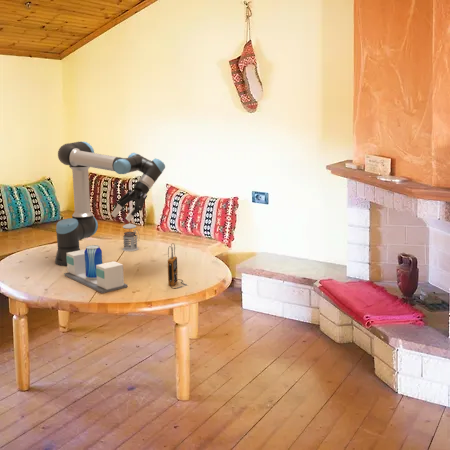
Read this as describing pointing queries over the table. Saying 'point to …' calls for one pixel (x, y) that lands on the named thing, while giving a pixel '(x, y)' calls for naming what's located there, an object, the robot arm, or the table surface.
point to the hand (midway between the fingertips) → (120, 218)
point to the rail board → (106, 273)
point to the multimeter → (172, 270)
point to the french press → (130, 238)
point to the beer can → (92, 260)
